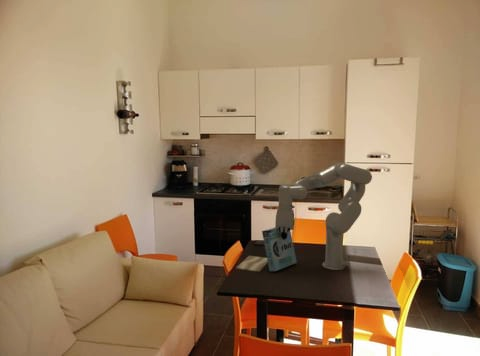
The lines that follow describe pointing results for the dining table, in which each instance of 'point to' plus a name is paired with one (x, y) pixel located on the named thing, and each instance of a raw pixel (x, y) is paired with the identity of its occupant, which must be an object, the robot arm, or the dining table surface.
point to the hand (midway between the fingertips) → (284, 238)
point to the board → (253, 264)
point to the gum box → (278, 249)
